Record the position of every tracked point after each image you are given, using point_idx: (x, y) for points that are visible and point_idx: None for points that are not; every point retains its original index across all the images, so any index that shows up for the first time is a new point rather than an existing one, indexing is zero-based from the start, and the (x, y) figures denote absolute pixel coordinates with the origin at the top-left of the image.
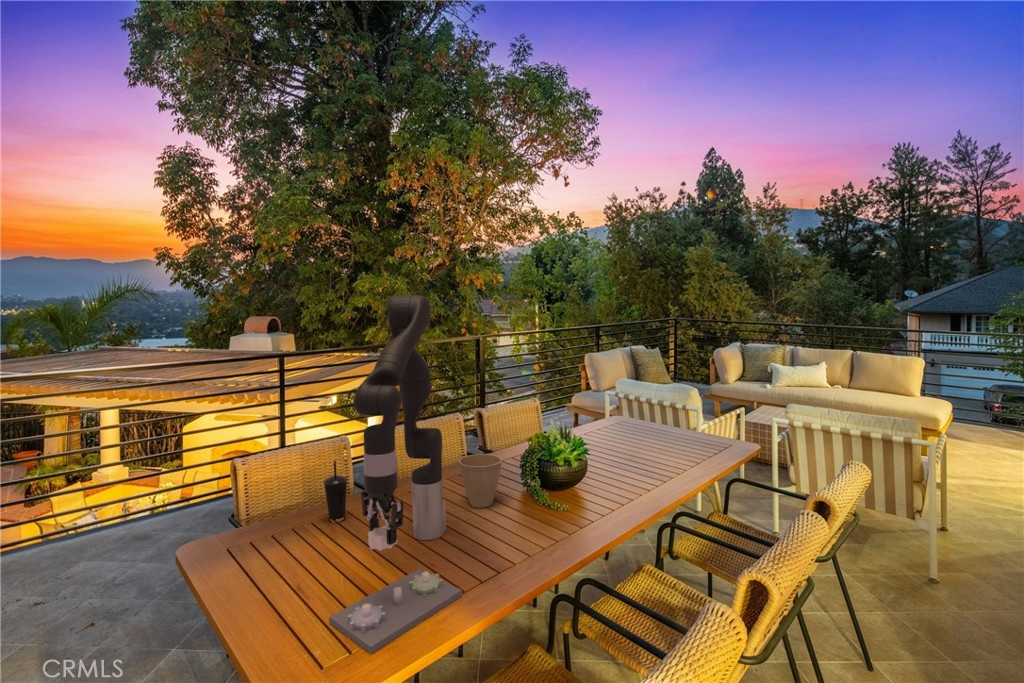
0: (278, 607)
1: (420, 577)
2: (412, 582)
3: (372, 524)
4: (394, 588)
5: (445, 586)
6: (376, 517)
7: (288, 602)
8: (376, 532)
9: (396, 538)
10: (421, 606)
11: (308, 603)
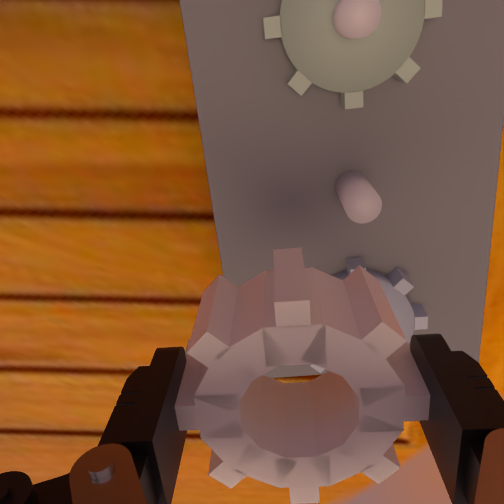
0: (56, 425)
1: (300, 17)
2: (308, 78)
3: (172, 470)
4: (349, 214)
5: None
6: (142, 476)
7: (46, 400)
8: (253, 431)
9: (479, 368)
10: (452, 130)
11: (90, 366)
